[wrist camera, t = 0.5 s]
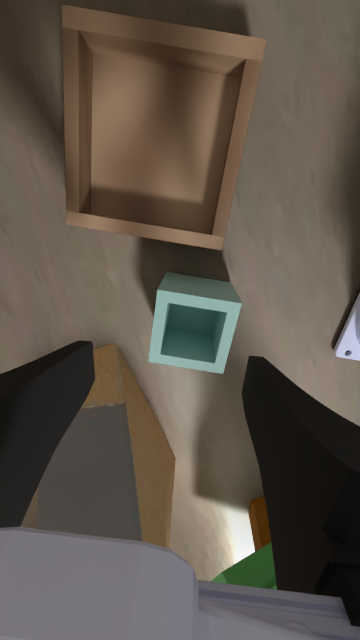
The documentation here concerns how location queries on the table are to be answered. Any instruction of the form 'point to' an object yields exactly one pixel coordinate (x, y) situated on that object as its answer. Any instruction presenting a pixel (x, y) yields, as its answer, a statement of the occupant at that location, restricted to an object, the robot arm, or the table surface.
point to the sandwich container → (111, 464)
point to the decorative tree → (254, 554)
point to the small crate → (194, 322)
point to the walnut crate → (154, 124)
